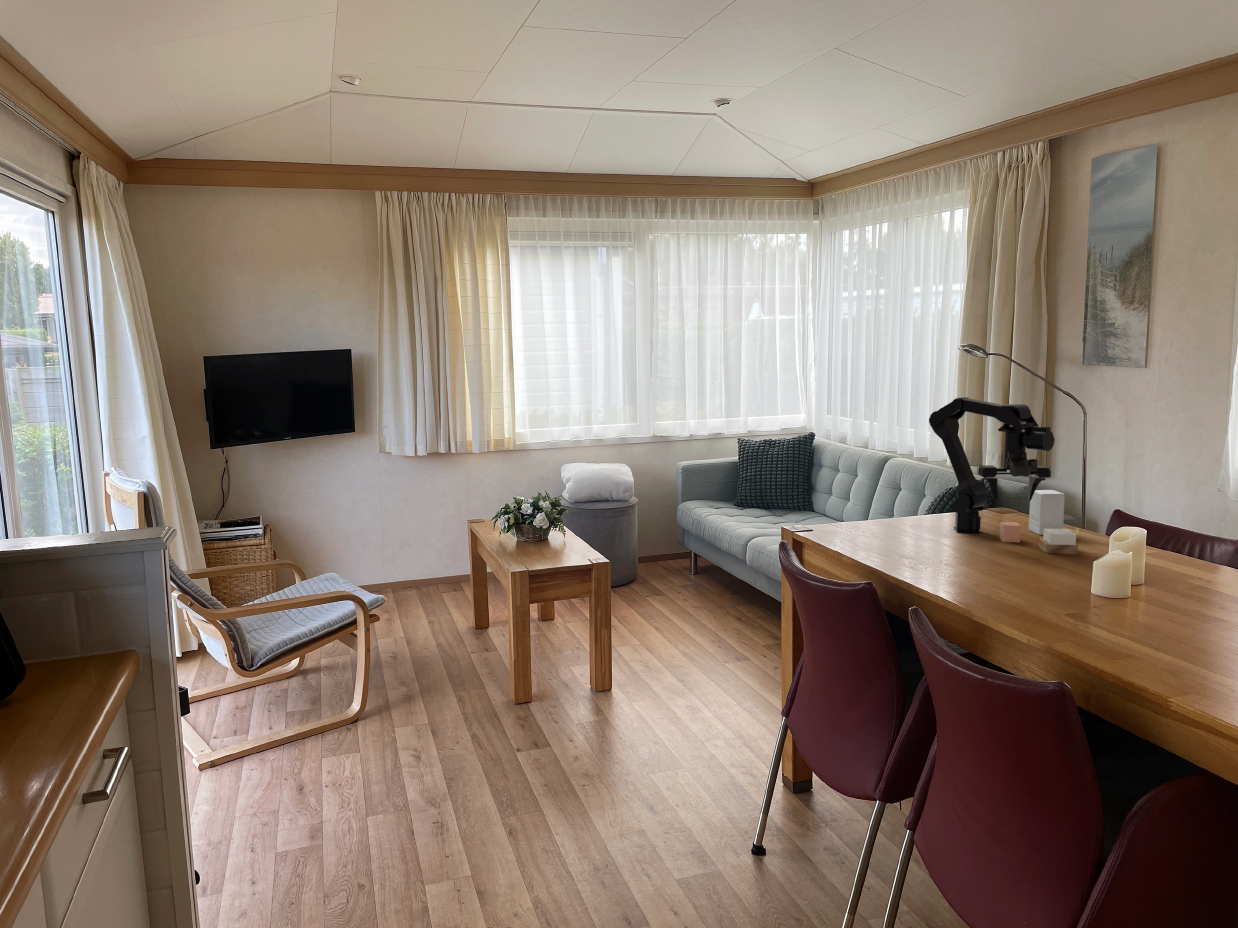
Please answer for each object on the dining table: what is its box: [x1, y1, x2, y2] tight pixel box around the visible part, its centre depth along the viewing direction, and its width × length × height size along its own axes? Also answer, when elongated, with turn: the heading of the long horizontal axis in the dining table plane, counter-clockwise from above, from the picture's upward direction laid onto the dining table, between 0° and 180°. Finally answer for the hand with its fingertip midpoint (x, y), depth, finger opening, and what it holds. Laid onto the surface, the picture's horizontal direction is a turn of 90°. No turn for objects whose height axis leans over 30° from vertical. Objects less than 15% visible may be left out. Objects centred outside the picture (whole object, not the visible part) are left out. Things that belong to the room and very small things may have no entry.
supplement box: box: [1028, 489, 1066, 536], centre depth 262 cm, size 7×7×13 cm
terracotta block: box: [999, 521, 1022, 543], centre depth 254 cm, size 5×5×5 cm
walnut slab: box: [1037, 537, 1079, 555], centre depth 242 cm, size 8×8×3 cm
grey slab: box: [1042, 528, 1077, 545], centre depth 241 cm, size 6×6×3 cm
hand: (1012, 500), depth 252 cm, fingers open, 9 cm apart
